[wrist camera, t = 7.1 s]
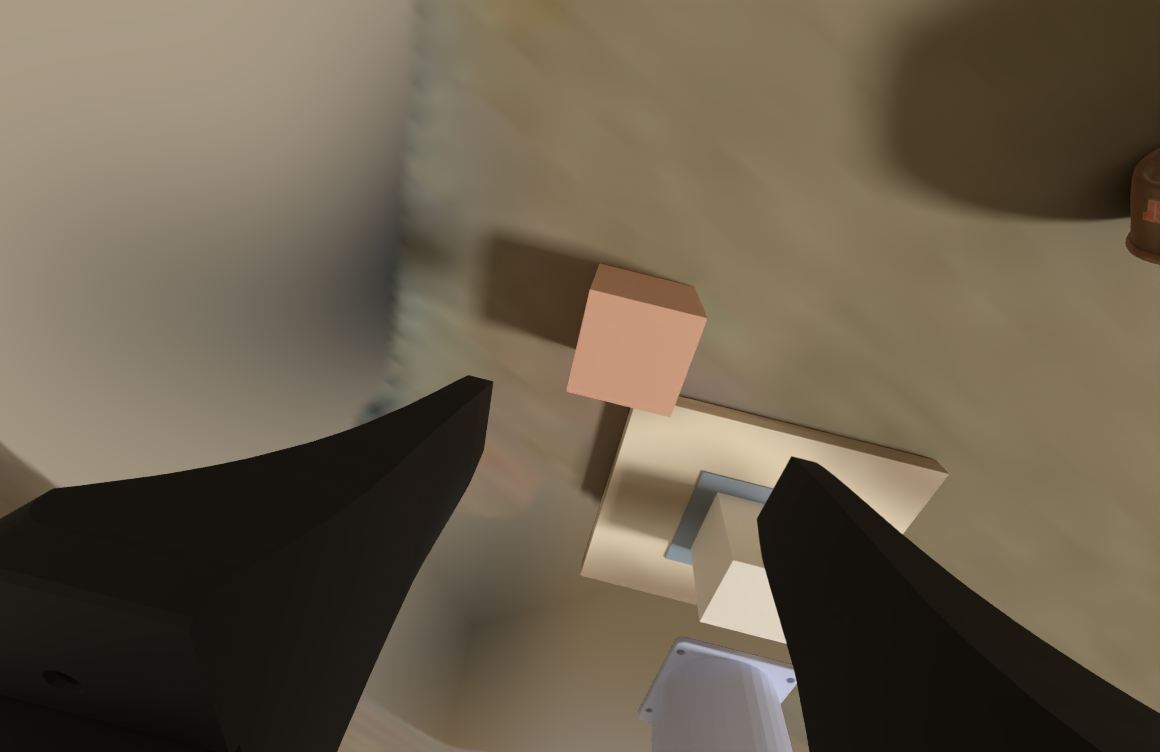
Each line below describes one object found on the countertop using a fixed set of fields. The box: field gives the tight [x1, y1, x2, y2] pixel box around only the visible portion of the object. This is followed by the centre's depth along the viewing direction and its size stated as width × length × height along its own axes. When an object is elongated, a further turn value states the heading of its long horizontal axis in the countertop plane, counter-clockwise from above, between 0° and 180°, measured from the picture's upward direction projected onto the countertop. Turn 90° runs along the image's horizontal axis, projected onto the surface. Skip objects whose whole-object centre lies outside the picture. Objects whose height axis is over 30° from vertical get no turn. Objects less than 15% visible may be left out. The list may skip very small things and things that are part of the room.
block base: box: [690, 492, 787, 644], centre depth 20 cm, size 4×4×4 cm
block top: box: [566, 263, 707, 418], centre depth 17 cm, size 4×4×4 cm
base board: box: [580, 396, 949, 605], centre depth 22 cm, size 12×14×1 cm
